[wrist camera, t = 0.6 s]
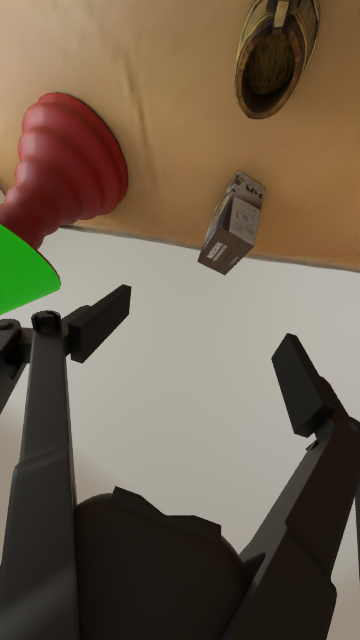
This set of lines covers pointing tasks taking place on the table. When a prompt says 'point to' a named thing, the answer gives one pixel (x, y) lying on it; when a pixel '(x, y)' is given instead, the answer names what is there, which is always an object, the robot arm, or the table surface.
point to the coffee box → (233, 225)
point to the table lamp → (54, 191)
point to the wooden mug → (274, 54)
